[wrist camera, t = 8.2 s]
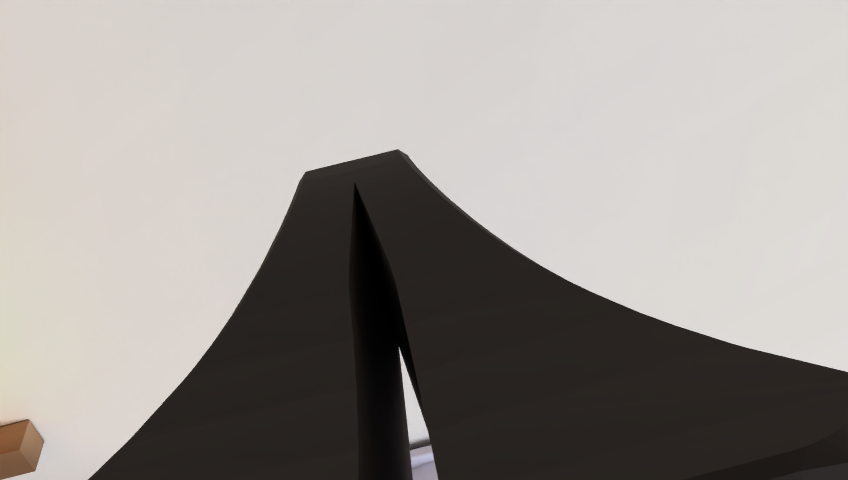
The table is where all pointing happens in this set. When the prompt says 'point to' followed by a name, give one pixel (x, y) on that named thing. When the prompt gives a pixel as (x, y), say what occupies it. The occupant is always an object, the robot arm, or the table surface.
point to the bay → (19, 449)
